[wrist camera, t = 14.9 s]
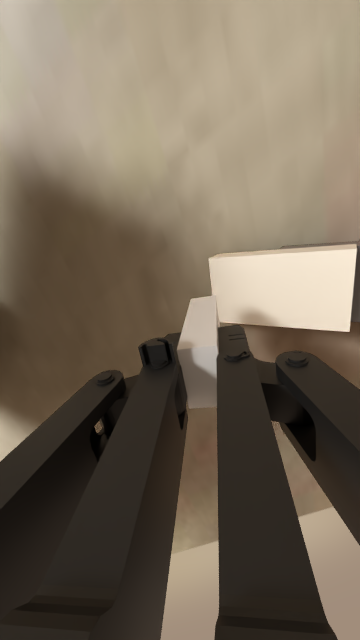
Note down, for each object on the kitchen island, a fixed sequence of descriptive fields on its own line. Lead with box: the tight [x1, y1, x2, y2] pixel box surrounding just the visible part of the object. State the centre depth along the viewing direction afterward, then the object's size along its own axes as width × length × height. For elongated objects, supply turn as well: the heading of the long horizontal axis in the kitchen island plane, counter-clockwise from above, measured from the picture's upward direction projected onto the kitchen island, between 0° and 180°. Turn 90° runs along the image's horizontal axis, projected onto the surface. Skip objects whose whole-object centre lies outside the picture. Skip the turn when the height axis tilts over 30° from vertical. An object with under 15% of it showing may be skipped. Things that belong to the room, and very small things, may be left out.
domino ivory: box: [209, 244, 357, 332], centre depth 18 cm, size 2×5×9 cm
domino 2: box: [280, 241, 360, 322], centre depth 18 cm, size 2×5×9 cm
